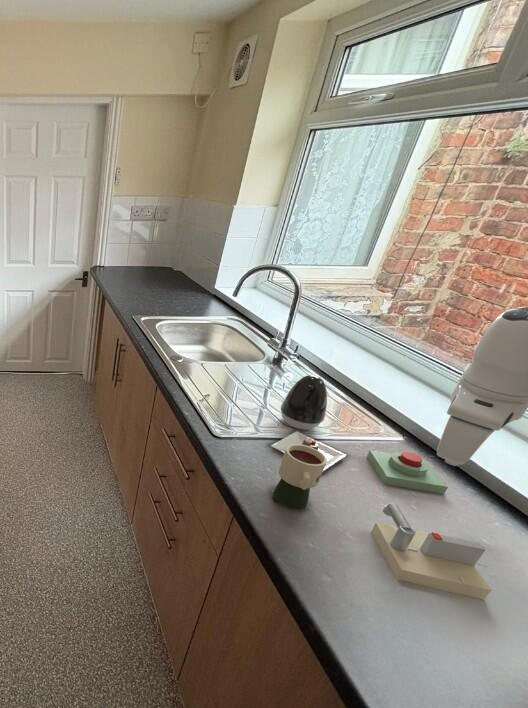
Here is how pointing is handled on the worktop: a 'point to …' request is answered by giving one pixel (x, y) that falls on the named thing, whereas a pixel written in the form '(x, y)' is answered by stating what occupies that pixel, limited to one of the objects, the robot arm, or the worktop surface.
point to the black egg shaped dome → (305, 403)
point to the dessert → (302, 439)
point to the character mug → (298, 475)
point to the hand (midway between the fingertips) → (452, 461)
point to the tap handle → (452, 549)
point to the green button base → (406, 473)
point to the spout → (399, 528)
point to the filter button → (410, 459)
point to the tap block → (429, 566)
